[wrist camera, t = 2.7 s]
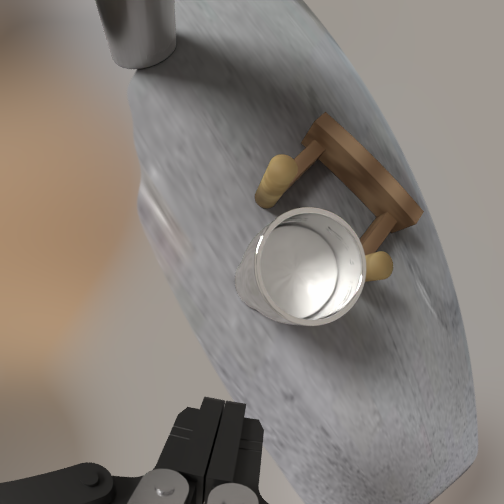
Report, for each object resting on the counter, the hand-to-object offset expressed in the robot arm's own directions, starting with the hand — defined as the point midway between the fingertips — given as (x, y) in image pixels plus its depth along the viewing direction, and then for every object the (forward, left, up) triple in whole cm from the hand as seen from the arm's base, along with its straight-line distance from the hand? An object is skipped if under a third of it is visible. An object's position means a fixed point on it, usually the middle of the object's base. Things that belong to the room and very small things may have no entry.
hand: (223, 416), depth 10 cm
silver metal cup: (0, +8, -20) cm, 22 cm away
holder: (0, +18, -20) cm, 27 cm away
